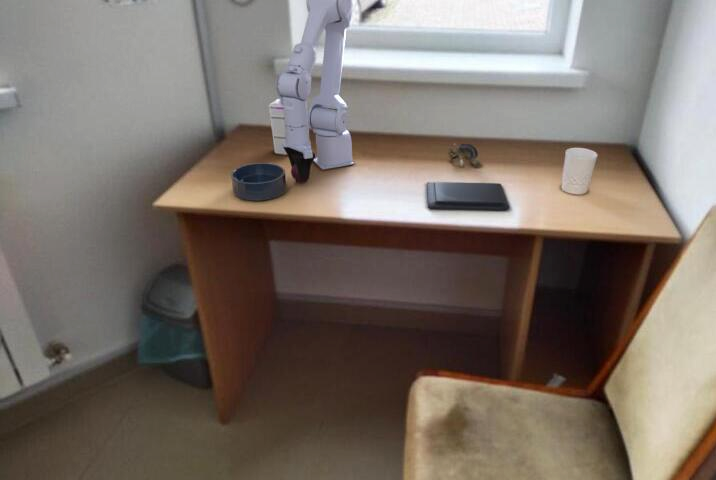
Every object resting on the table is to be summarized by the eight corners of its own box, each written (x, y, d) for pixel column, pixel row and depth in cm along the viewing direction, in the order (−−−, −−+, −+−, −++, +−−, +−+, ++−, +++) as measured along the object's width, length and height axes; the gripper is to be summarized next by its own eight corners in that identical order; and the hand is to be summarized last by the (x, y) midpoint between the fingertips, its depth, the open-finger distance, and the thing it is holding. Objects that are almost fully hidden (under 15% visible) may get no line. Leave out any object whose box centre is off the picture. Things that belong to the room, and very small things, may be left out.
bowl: (277, 177, 148) (275, 159, 146) (293, 196, 139) (292, 177, 136) (228, 186, 143) (225, 168, 140) (241, 206, 134) (238, 187, 131)
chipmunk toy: (446, 165, 156) (477, 163, 153) (446, 139, 156) (478, 137, 153) (452, 170, 163) (482, 169, 161) (452, 146, 163) (483, 144, 161)
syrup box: (292, 155, 162) (288, 105, 154) (273, 153, 163) (268, 103, 155) (300, 148, 167) (295, 99, 159) (281, 147, 167) (276, 98, 159)
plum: (306, 176, 148) (305, 156, 145) (313, 182, 144) (311, 162, 141) (289, 179, 146) (287, 158, 143) (295, 186, 142) (293, 165, 139)
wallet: (427, 202, 134) (427, 177, 147) (427, 209, 135) (426, 183, 148) (510, 205, 134) (503, 179, 147) (509, 212, 135) (502, 186, 148)
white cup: (572, 197, 143) (580, 160, 137) (552, 186, 149) (559, 150, 143) (595, 192, 146) (604, 156, 141) (575, 181, 152) (582, 145, 146)
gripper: (271, 117, 140) (277, 168, 148) (290, 135, 130) (295, 189, 137) (298, 114, 143) (302, 164, 151) (319, 131, 133) (322, 184, 140)
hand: (301, 175), depth 144 cm, fingers closed on plum, 4 cm apart
